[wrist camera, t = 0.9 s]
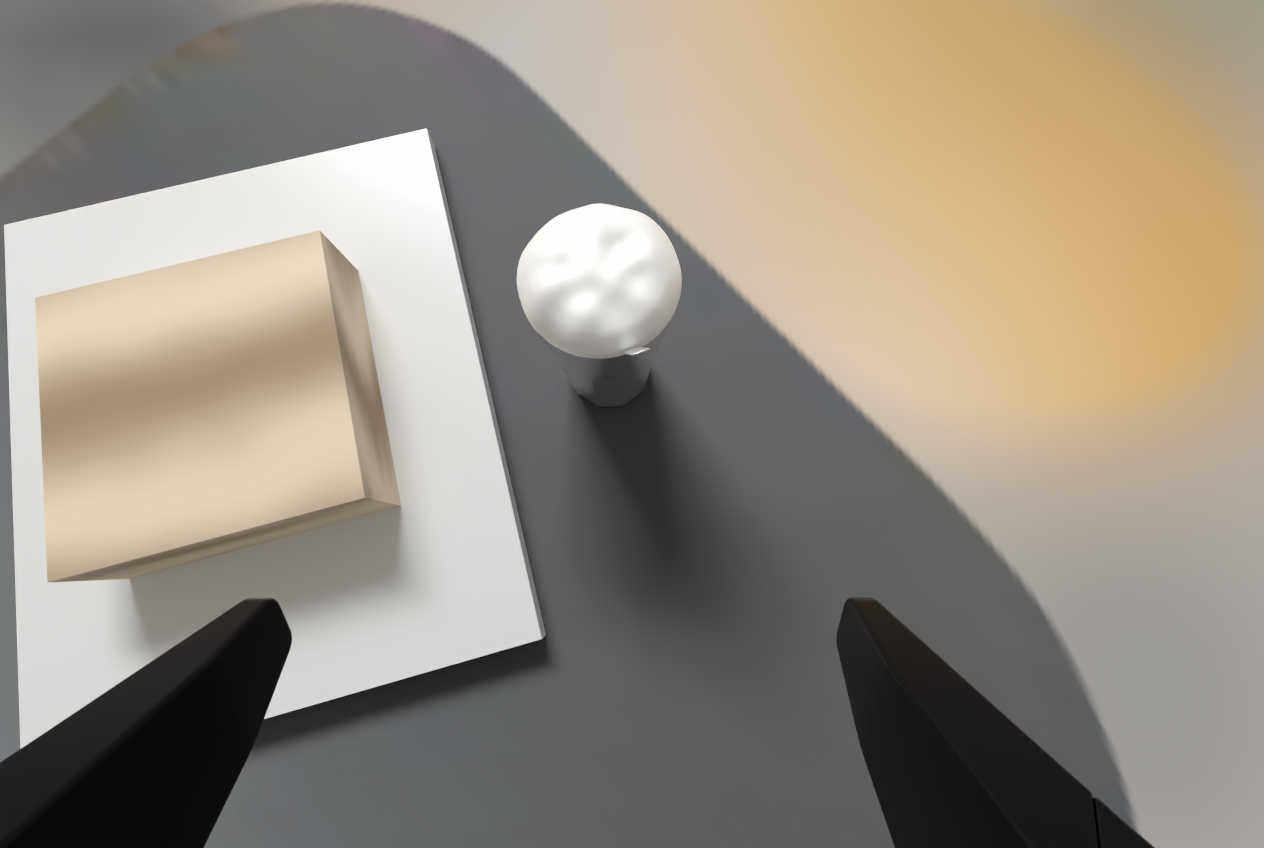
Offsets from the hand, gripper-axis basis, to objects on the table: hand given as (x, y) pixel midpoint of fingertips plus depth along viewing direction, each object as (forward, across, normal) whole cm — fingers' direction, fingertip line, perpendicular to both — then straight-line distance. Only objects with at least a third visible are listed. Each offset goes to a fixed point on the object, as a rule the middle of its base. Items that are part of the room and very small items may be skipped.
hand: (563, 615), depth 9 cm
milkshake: (+15, 0, +3) cm, 16 cm away
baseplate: (+14, +14, +4) cm, 20 cm away
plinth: (+14, +14, +4) cm, 20 cm away
